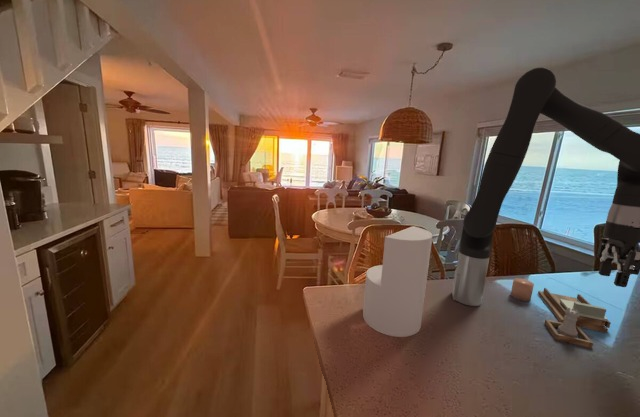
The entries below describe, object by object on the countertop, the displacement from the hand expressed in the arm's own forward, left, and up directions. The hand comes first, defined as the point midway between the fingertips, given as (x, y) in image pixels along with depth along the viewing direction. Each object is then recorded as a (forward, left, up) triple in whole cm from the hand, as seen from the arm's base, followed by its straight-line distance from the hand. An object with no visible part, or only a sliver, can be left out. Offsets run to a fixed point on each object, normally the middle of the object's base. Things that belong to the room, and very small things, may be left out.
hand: (611, 280), depth 73 cm
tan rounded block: (-14, +19, -18) cm, 29 cm away
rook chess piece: (-8, -2, -18) cm, 20 cm away
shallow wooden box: (-1, +14, -18) cm, 23 cm away
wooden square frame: (-8, -2, -18) cm, 20 cm away
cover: (0, +9, -15) cm, 17 cm away
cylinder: (-56, -17, -18) cm, 61 cm away
